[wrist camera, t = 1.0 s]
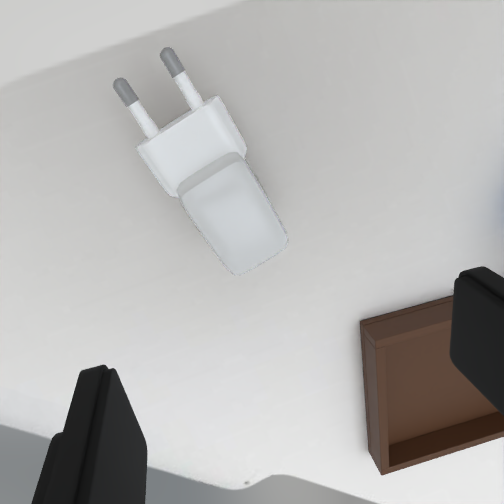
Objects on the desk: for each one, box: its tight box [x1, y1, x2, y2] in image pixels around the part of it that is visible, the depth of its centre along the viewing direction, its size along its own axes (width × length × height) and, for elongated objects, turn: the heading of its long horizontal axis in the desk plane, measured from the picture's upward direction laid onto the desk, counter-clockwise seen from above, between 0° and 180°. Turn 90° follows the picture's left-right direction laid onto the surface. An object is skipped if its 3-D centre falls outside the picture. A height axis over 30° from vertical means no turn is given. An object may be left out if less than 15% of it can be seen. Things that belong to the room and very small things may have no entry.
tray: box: [360, 296, 504, 475], centre depth 34 cm, size 16×16×3 cm
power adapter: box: [113, 47, 288, 275], centre depth 21 cm, size 11×5×6 cm, turn 30°
